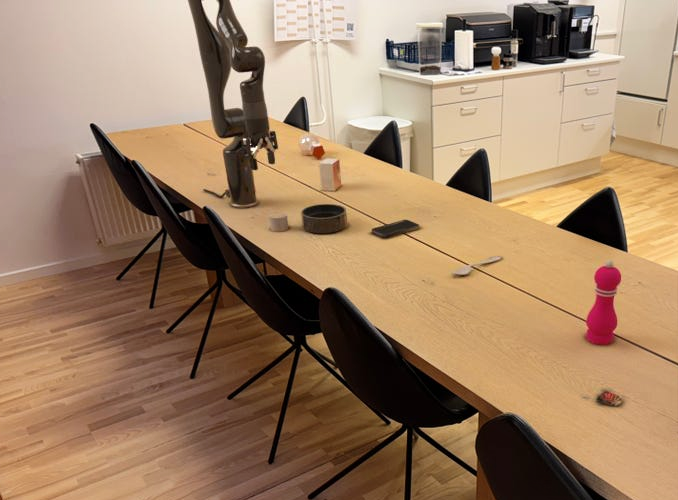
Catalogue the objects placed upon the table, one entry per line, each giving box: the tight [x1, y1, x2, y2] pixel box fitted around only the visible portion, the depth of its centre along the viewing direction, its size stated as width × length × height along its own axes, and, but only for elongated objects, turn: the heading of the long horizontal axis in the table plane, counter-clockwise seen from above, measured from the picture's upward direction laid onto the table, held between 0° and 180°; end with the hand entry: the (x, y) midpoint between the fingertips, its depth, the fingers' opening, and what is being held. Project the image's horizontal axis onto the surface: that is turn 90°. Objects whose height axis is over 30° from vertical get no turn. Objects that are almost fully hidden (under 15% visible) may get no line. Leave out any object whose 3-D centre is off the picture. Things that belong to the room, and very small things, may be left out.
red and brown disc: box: [596, 389, 622, 407], centre depth 140 cm, size 5×5×1 cm
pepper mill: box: [585, 259, 622, 345], centre depth 157 cm, size 7×7×20 cm
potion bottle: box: [298, 132, 326, 160], centre depth 306 cm, size 9×10×15 cm
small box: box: [318, 157, 342, 192], centre depth 263 cm, size 8×6×10 cm
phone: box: [371, 219, 420, 239], centre depth 225 cm, size 8×1×15 cm
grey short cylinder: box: [268, 211, 290, 232], centre depth 226 cm, size 6×6×5 cm
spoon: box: [451, 256, 502, 276], centre depth 199 cm, size 4×21×2 cm, turn 136°
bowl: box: [300, 203, 348, 235], centre depth 227 cm, size 15×15×6 cm
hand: (263, 166), depth 225 cm, fingers open, 8 cm apart
